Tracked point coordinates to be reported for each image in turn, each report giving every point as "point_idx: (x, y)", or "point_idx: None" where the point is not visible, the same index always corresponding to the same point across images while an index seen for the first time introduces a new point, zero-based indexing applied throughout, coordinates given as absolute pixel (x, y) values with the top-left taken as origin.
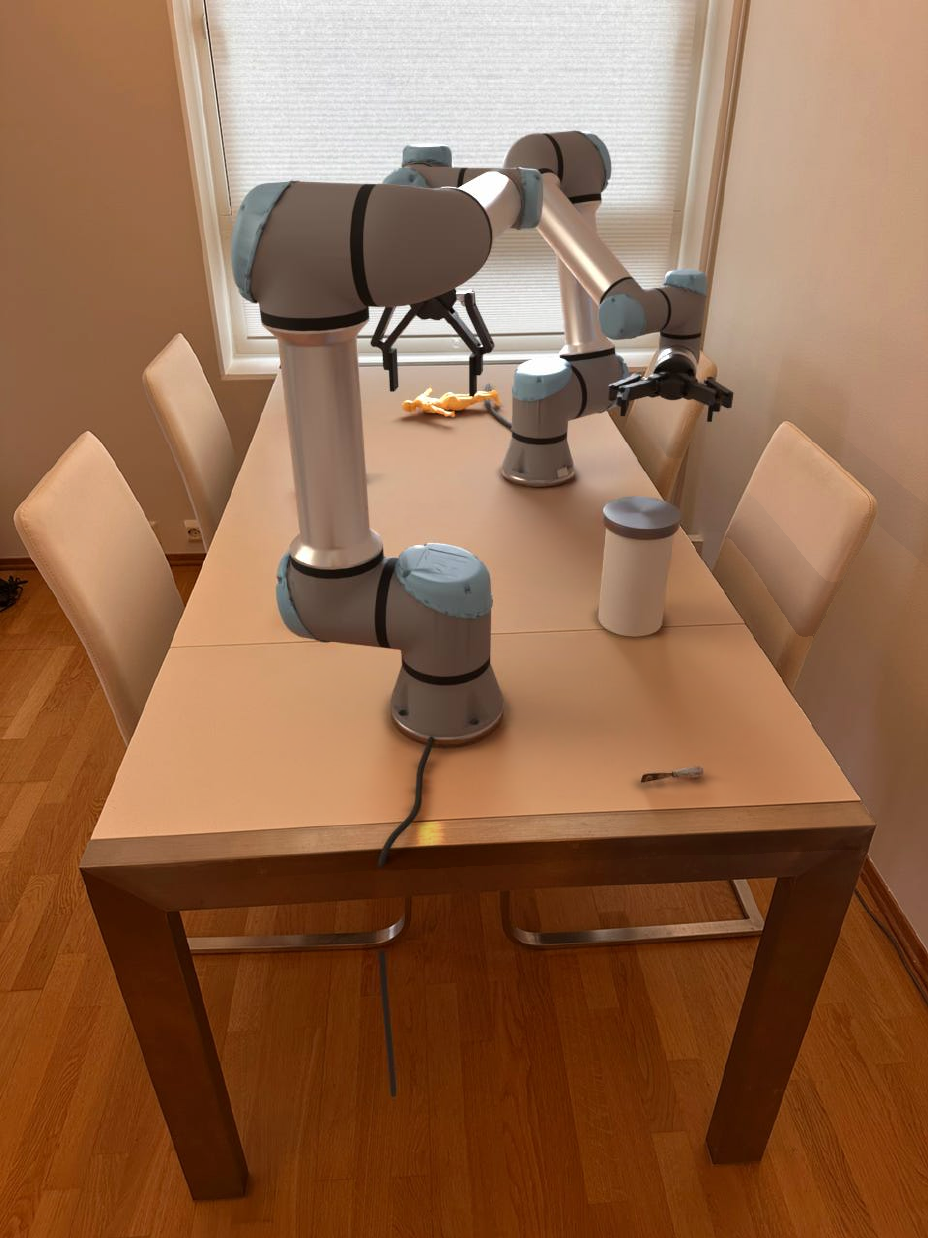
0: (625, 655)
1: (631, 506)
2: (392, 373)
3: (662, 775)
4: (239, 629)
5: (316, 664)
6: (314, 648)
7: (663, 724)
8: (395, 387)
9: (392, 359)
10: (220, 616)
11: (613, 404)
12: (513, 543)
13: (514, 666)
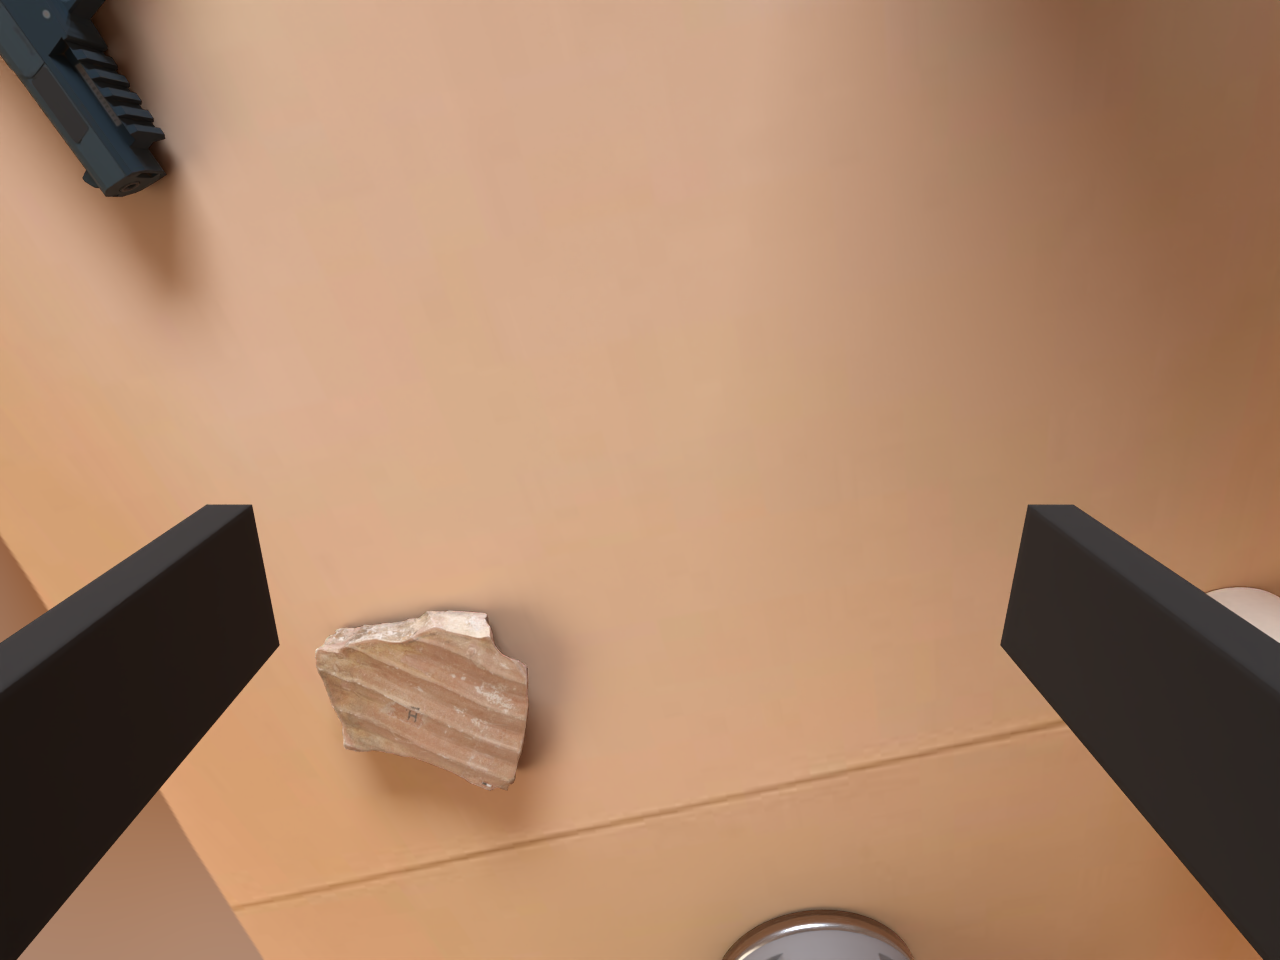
0: None
1: None
2: (168, 770)
3: None
4: (310, 841)
5: (530, 911)
6: (503, 870)
7: (1201, 948)
8: (259, 616)
9: (48, 918)
10: (236, 808)
11: None
12: (906, 292)
13: (930, 854)
